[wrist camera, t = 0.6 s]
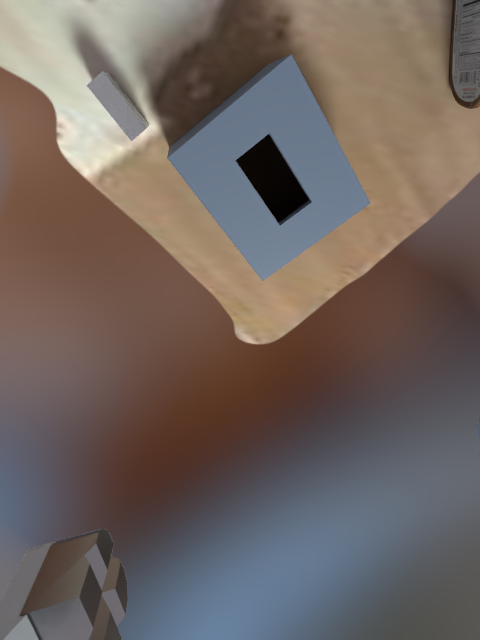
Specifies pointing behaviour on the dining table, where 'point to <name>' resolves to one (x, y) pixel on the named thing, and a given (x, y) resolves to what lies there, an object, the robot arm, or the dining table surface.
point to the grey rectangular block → (118, 105)
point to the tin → (466, 53)
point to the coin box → (296, 148)
